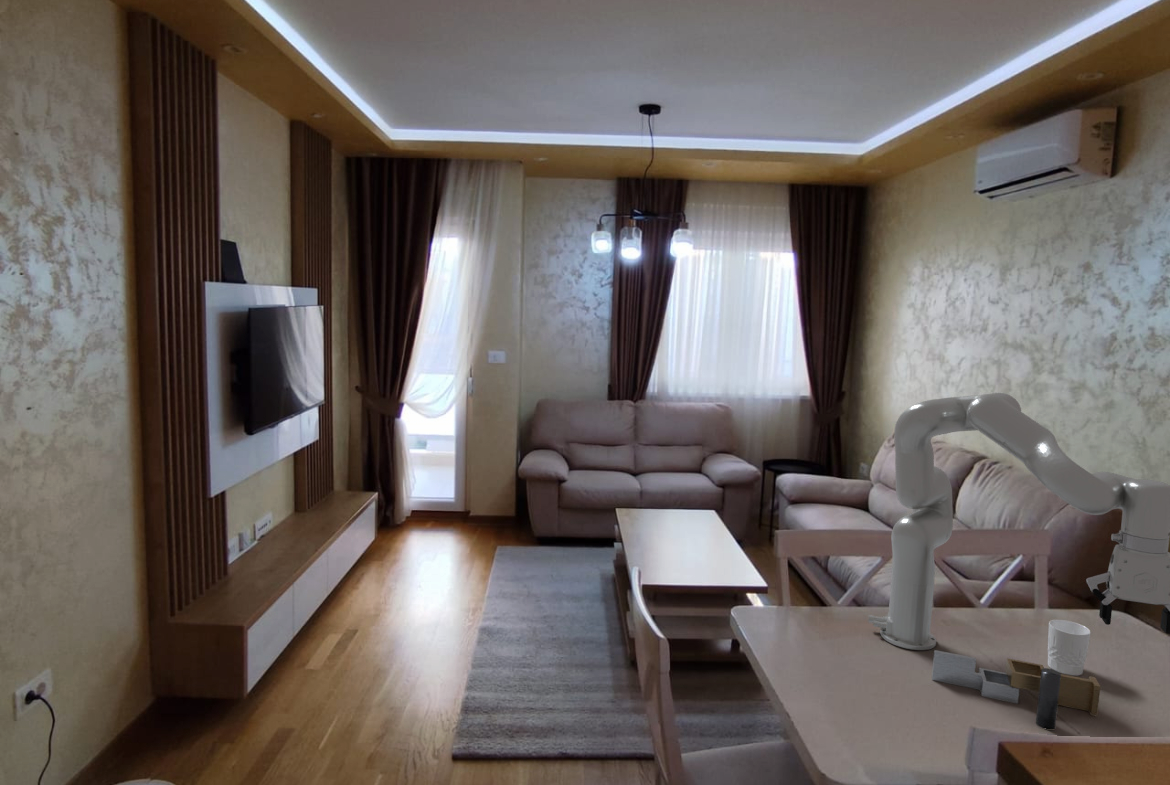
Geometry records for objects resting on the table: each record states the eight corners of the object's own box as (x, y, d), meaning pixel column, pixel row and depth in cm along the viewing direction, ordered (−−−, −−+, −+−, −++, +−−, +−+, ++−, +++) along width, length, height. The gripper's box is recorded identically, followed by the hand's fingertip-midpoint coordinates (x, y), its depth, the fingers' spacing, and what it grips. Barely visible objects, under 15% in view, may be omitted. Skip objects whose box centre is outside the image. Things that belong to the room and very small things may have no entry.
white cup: (1092, 679, 158) (1097, 636, 157) (1053, 674, 159) (1058, 632, 158) (1075, 662, 165) (1080, 621, 164) (1038, 658, 167) (1042, 617, 166)
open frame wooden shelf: (1009, 700, 147) (1012, 672, 147) (1004, 685, 153) (1006, 658, 153) (1098, 719, 141) (1102, 689, 141) (1089, 703, 147) (1093, 674, 147)
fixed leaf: (932, 686, 153) (935, 657, 152) (931, 672, 159) (933, 644, 158) (1017, 703, 147) (1020, 674, 146) (1012, 688, 153) (1015, 659, 152)
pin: (1037, 727, 138) (1043, 674, 137) (1034, 718, 141) (1039, 666, 140) (1056, 731, 137) (1062, 678, 136) (1053, 723, 140) (1058, 670, 139)
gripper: (1096, 542, 139) (1088, 626, 140) (1207, 555, 132) (1197, 642, 134) (1086, 532, 146) (1078, 612, 147) (1191, 543, 139) (1182, 627, 141)
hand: (1135, 626), depth 141 cm, fingers open, 9 cm apart
